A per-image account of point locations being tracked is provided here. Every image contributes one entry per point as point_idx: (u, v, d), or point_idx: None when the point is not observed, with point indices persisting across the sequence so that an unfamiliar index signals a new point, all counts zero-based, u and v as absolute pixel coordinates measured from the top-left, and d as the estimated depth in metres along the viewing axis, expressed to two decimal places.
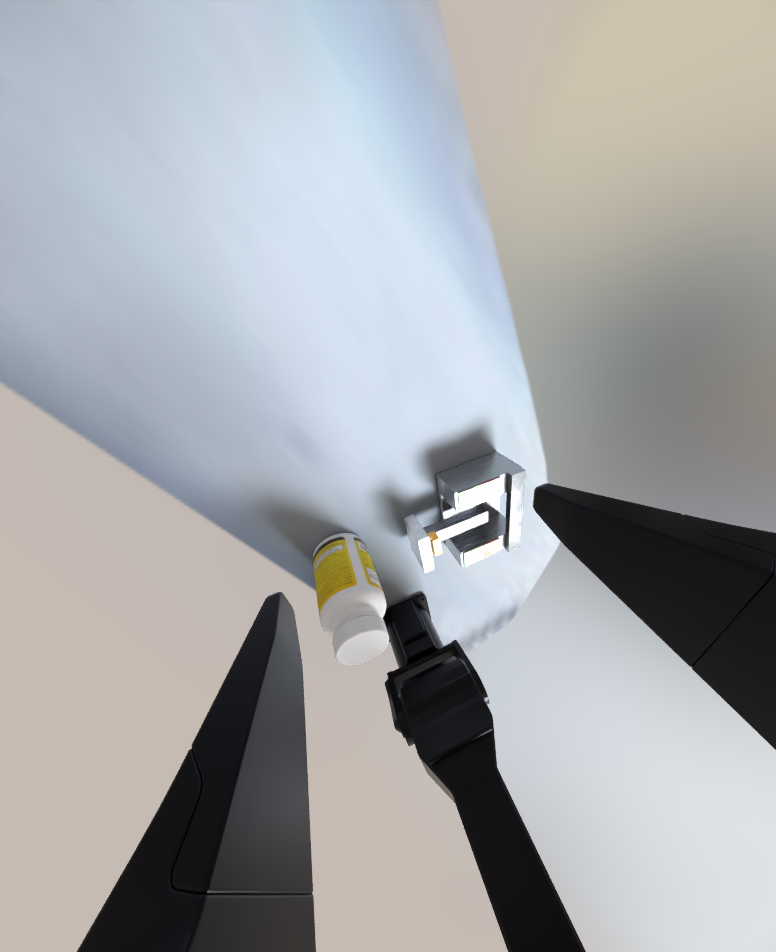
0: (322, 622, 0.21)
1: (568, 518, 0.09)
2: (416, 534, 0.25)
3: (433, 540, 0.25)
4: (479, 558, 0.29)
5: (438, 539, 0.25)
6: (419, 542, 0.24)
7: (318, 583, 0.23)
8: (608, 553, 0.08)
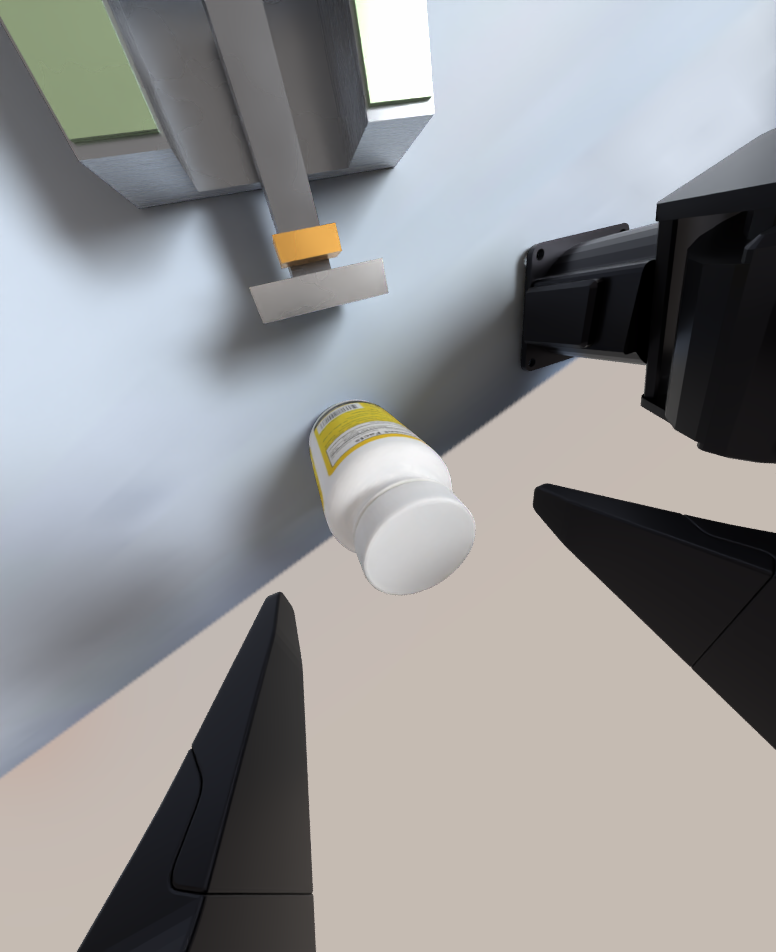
0: None
1: (568, 518, 0.09)
2: None
3: (281, 260, 0.09)
4: None
5: (276, 240, 0.08)
6: (269, 319, 0.09)
7: None
8: (608, 553, 0.08)
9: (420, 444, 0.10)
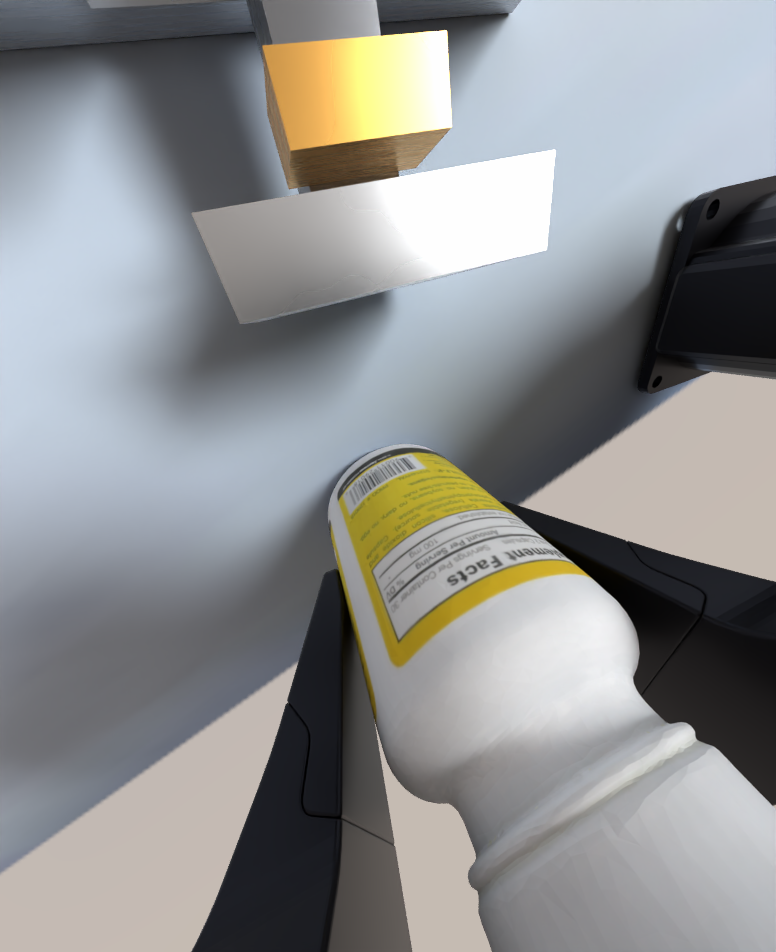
0: None
1: None
2: None
3: (289, 142, 0.03)
4: None
5: (276, 70, 0.03)
6: (255, 312, 0.03)
7: None
8: None
9: (598, 595, 0.05)
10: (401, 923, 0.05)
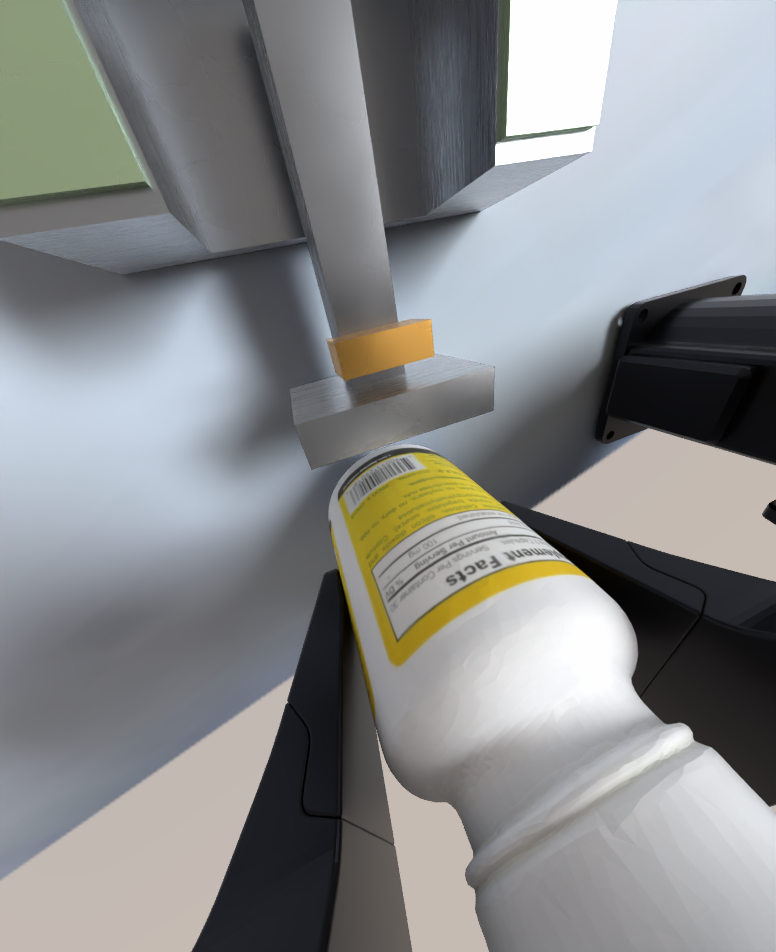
0: None
1: None
2: None
3: (343, 375, 0.06)
4: None
5: (339, 350, 0.05)
6: (320, 463, 0.06)
7: None
8: None
9: (596, 596, 0.05)
10: (401, 924, 0.05)
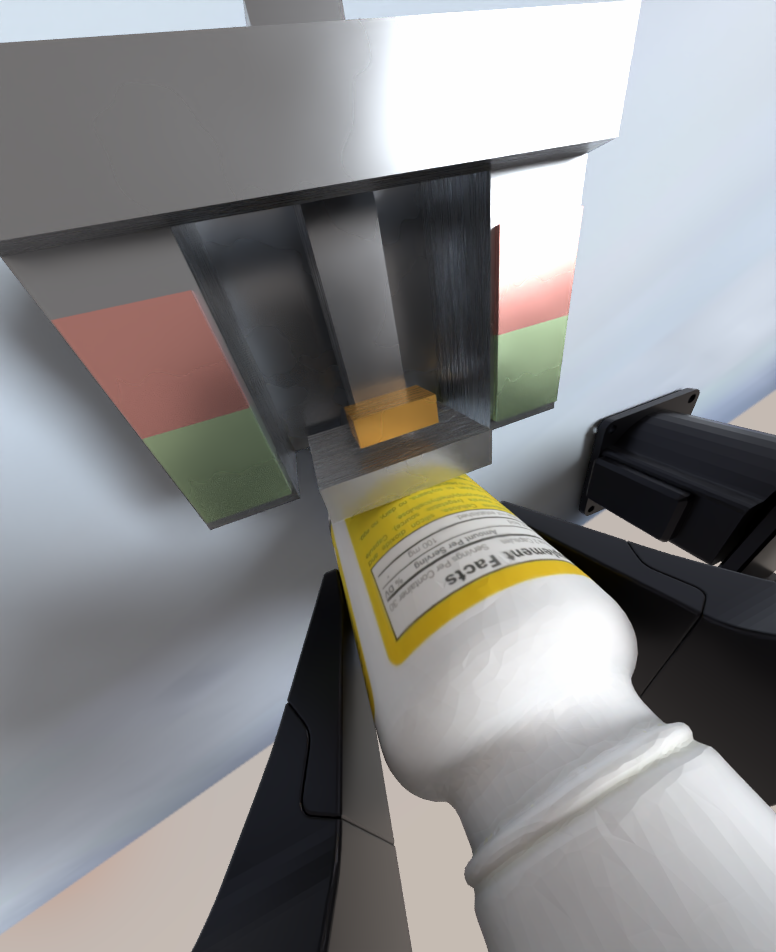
0: None
1: None
2: None
3: (360, 443, 0.06)
4: (556, 337, 0.07)
5: (357, 425, 0.06)
6: (340, 517, 0.07)
7: None
8: None
9: (596, 595, 0.05)
10: (401, 923, 0.05)
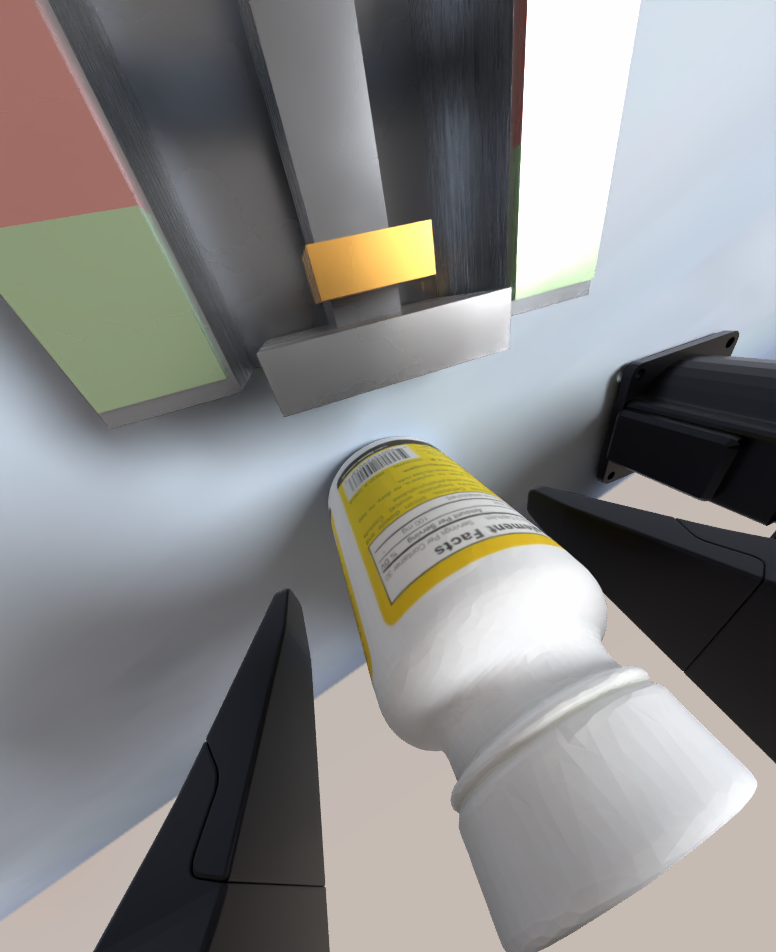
0: None
1: (561, 521, 0.08)
2: None
3: (321, 294, 0.04)
4: (601, 165, 0.05)
5: (314, 256, 0.04)
6: (294, 409, 0.05)
7: None
8: (601, 557, 0.08)
9: (568, 562, 0.05)
10: None
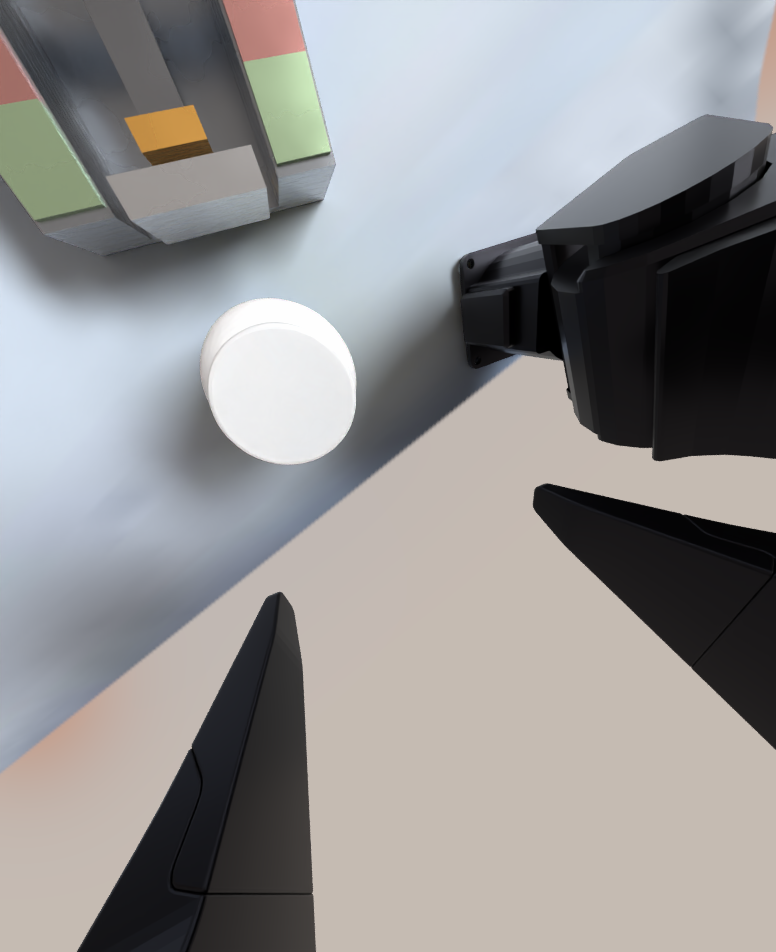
0: None
1: (568, 518, 0.09)
2: None
3: (141, 149, 0.08)
4: (303, 74, 0.09)
5: (130, 125, 0.08)
6: (136, 215, 0.09)
7: None
8: (608, 553, 0.08)
9: (302, 305, 0.09)
10: None
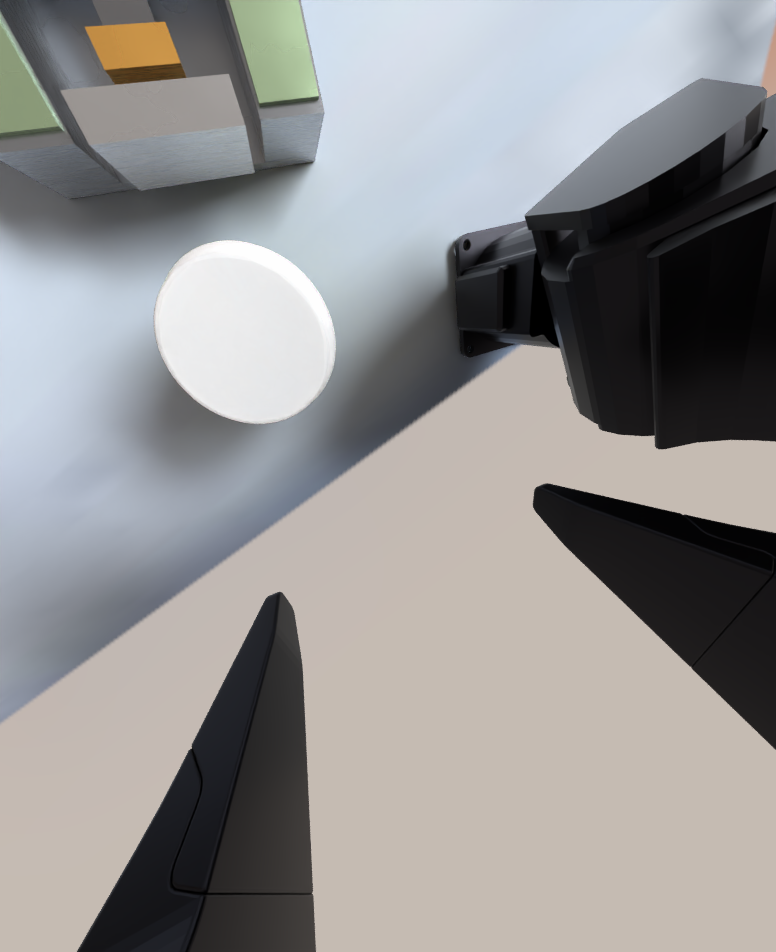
0: None
1: (568, 518, 0.09)
2: (99, 149, 0.08)
3: (105, 66, 0.08)
4: (290, 5, 0.08)
5: (92, 36, 0.07)
6: (95, 140, 0.08)
7: None
8: (608, 553, 0.08)
9: None
10: None
